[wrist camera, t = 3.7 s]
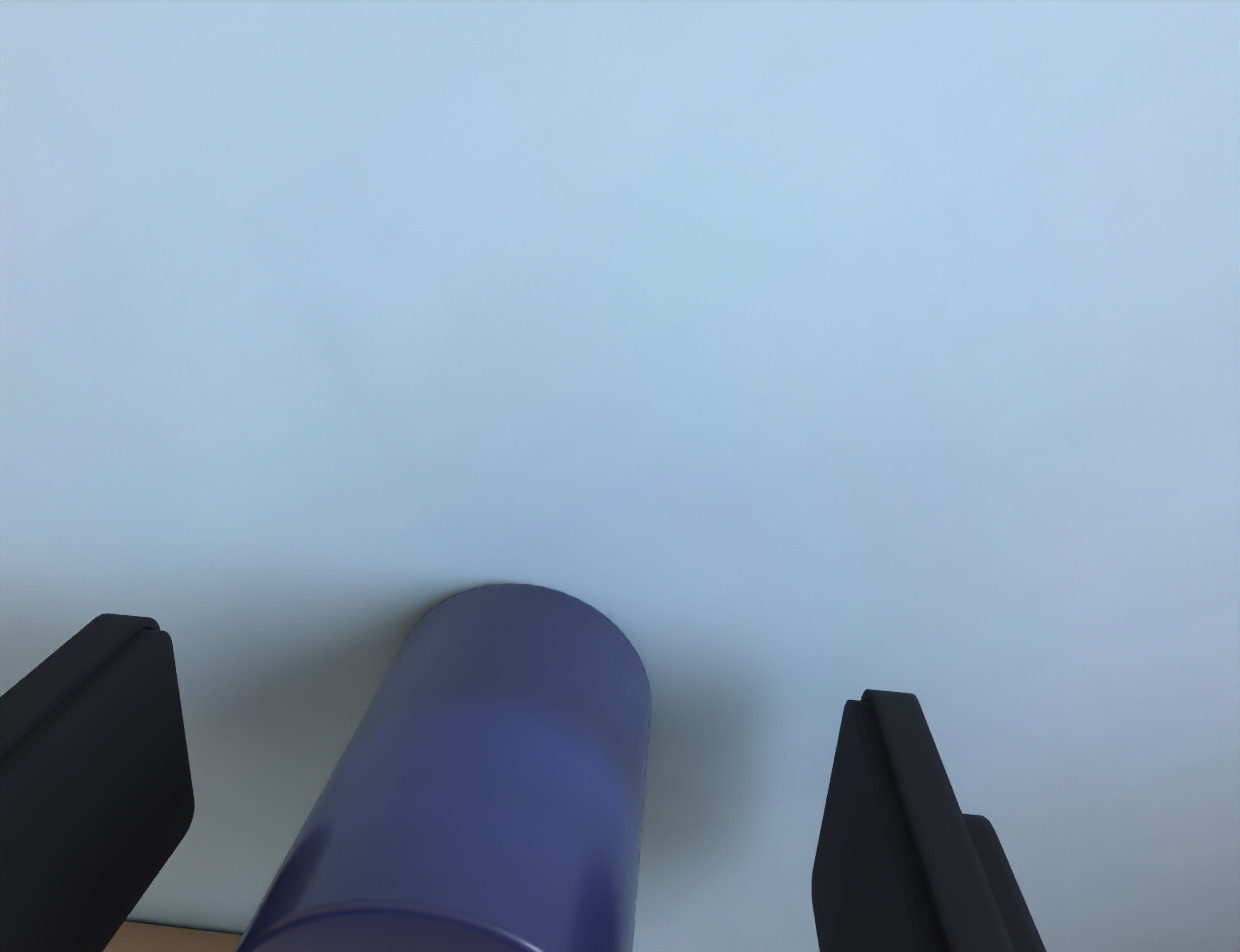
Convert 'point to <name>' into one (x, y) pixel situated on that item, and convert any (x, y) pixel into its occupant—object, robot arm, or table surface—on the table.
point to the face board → (169, 939)
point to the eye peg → (480, 793)
